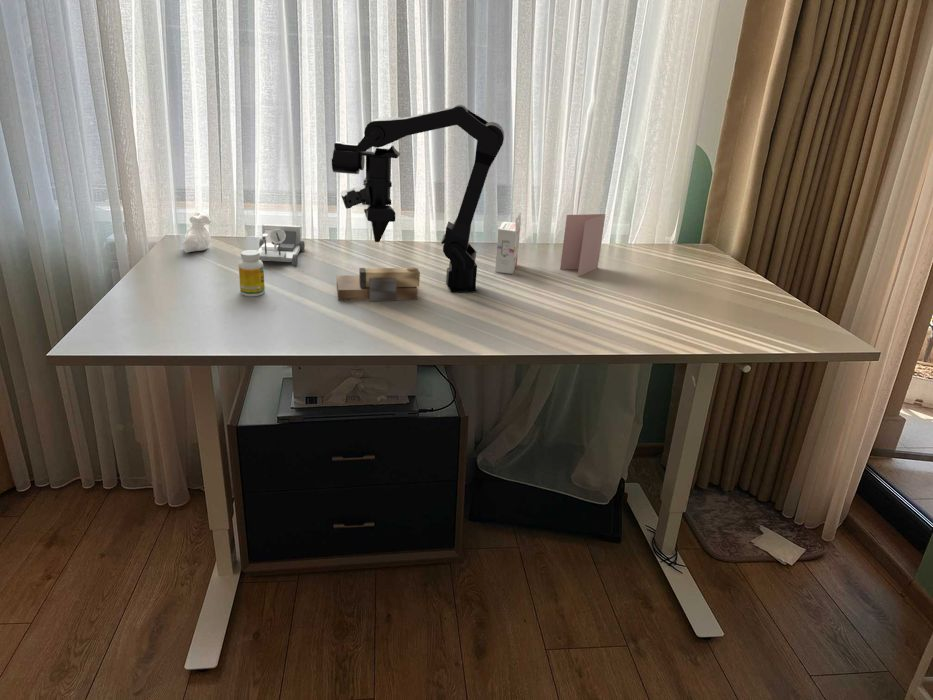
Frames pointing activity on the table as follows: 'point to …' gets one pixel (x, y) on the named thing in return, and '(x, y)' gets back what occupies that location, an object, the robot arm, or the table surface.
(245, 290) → the supplement bottle
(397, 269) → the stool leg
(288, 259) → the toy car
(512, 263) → the ink cartridge box
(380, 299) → the brown wooden block
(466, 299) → the table surface
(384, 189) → the robot arm
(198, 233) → the white tied sack
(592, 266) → the greeting card
